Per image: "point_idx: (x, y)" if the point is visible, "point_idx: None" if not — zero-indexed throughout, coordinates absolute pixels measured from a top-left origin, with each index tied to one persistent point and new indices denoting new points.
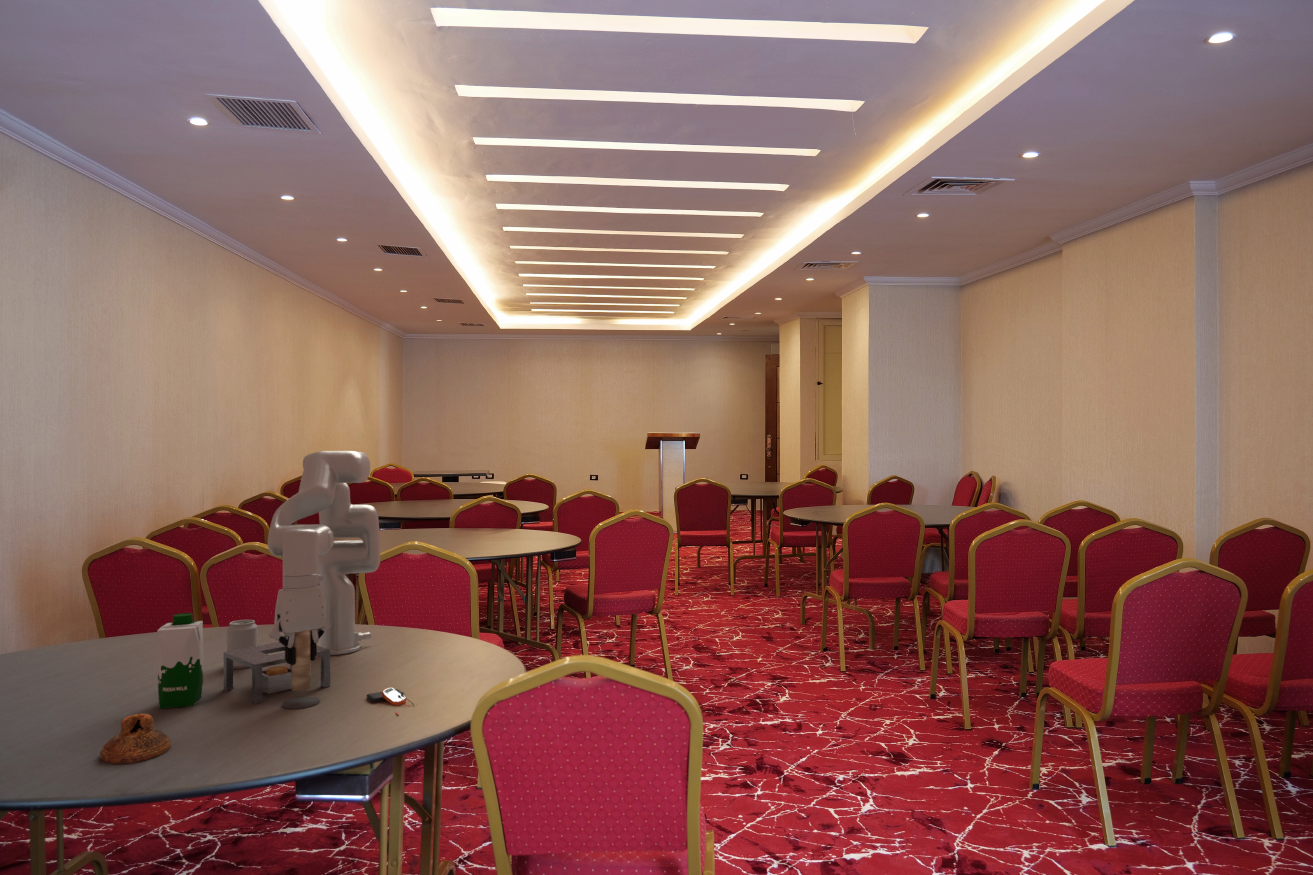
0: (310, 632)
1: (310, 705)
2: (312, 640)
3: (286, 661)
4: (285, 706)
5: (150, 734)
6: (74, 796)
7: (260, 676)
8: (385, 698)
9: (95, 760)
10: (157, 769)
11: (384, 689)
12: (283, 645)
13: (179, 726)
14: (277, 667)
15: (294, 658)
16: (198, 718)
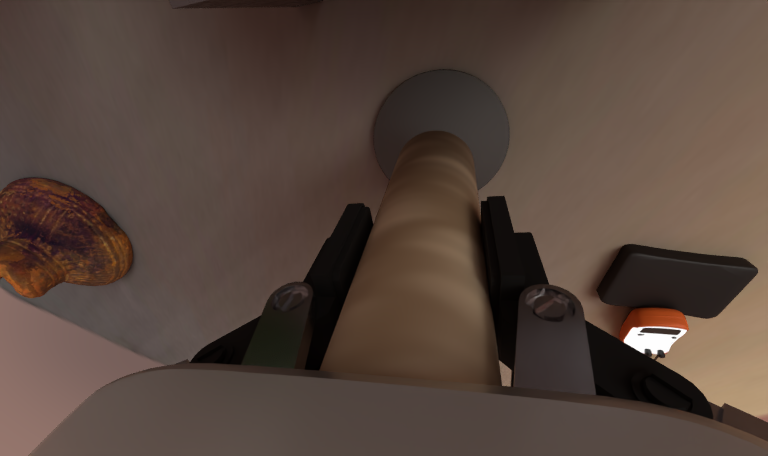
0: (547, 386)
1: None
2: (509, 363)
3: (348, 205)
4: (377, 159)
5: (72, 278)
6: (78, 325)
7: (258, 1)
8: (628, 318)
9: None
10: (148, 317)
11: (654, 325)
12: (282, 293)
13: (95, 112)
14: None
15: None
16: (124, 64)
